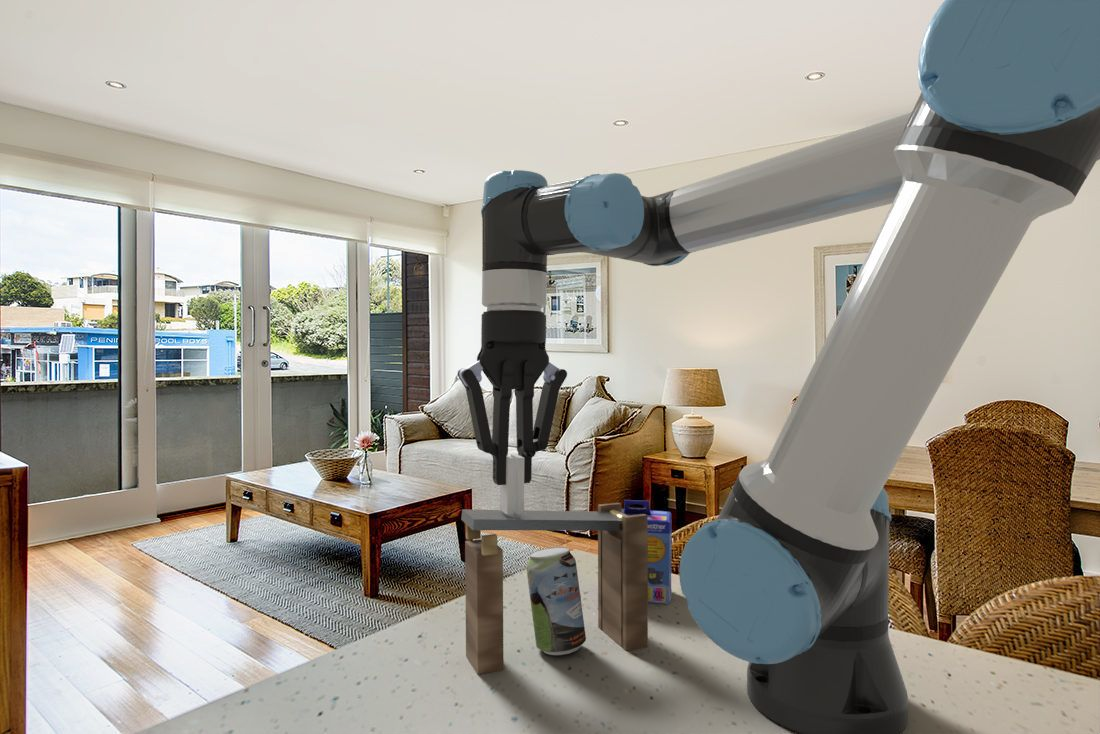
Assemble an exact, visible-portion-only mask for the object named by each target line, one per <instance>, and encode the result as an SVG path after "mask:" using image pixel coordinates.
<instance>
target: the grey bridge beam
mask: <svg viewBox="0 0 1100 734" xmlns="http://www.w3.org/2000/svg"><path fill="white" fill-rule="evenodd" d="M622 516H628V515H625V514H623V513H621V512H619V511H617V510H610V511H609V512H599V511H598V510H597V511H596V510H593V511H588V510H586V511H585V510H583V511H582V510H581V511H580V510H532V509H531V510H525V509H524V514H517V513H516V512H513V515H507V514H505V513H504V512H503V511H501V510H500V509H465V508H464V509H461V519H460V520H461V521H462V522H463V523H464V524H465V525H466V524H467V525H468V526H469V527H470V528H471V529H472V530H481V531H573V532H574V531H575V532H576V531H577V532H579V531H586V532H587V531H588V532H589V531H594V532H595V531H596V532H598V531H622Z"/></svg>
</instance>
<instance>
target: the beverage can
mask: <svg viewBox="0 0 1100 734" xmlns="http://www.w3.org/2000/svg"><path fill="white" fill-rule="evenodd" d="M525 567H526V577H527V585H528V590H529V591H528V593H529V600H530V606H531V607H530V608H531V609H530V610H531V616H532V622H533V623H532V624H533V632H534V638H535V646H536V648H537V649H538V650H540V651H542V652H543V653H544V654H546V655H549V656H563V655H568V654H571V653H572V654H573V653H574V652H576V651H578V650H579V649H580V648H581V647H582V645H583V644H585V643H586V640H587V636H586V629H585V621H584V615H583V613H584V612H583V605H582V600H581V599H582V597H581V589H580V584H579V576H578V568H577V561H576V558H575V557H574V556H573V554H572V553H571V551H570V548H568V547H564V546H559V547H558V546H556V547H555V546H554V547H553V546H552V547H547V548H540V549H538V550H535V551H532V552H531V553H529V559H528V561H527V563H526V566H525Z"/></svg>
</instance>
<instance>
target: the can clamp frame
mask: <svg viewBox="0 0 1100 734" xmlns="http://www.w3.org/2000/svg"><path fill="white" fill-rule="evenodd" d="M621 509H622V503H621V502H610V503H609V502H608V503H602V504H600V503H599V504H597V511H599V512H609V511H610V510H617V511H619V512H621ZM481 531H482V530H472V529H471V528H470V527H469V526H468V525H467V524H465V539H466V540H465V541H464V543H465V544H464V546H465V547H464V562H465V564H464V565H465V566H464V567H465V570H464V571H465V572H464V573H465V574H464V576H465V579H464V580H465V583H464V585H465V591H464V592H465V656H466V658H467V660H468V661H469V663H470V664H471V666H472V668H473V669H474V671H475V673H476V674H477V675H478V676H479V675H483V674H489V673H494V672H499V671H504V667H505V666H504V554H503V553H504V550H503V548H501V547H500V546H499V545H498V535H497V534H496V533H491V534H483V535H482V534H481ZM597 543H598V544H597V590H598V591H597V599H598V600H597V602H598V603H597V610H598V611H597V615H598V618H597V621H598V622H597V626H598V627H597V628H599V629H600V630H602V632H603V633H604V634H606V635H607V636H608V637H609V638H611V640H612V641H614V642H615V643H616V644H617V645H618V646H620V647H622V649H623V650H625V651H626V652H627V651H632V650H638V649H641V648H646V647H649V645H648V644H649V637H648V636H649V635H648V633H649V632H648V631H649V628H648V627H649V623H648V622H649V618H648V617H649V615H648V614H649V613H648V612H649V607H648V606H649V603H648V515H646V514H638V515H629V516H622V531H597Z"/></svg>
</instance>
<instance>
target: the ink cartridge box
mask: <svg viewBox="0 0 1100 734" xmlns="http://www.w3.org/2000/svg"><path fill="white" fill-rule="evenodd" d="M623 505H624V506H623V508H621V513H623V514H625V515H628V516H629V515H638V514H646V515H648V604H660V605H661V604H662V605H668V604H671V600H672V536H673V535H672V512H670V511H664V510H651V507H650V500H643V499H642V500H639V499H638V500H635V499H633V500H632V499H624V504H623ZM633 505H641V506H644V507H630V506H633Z"/></svg>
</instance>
